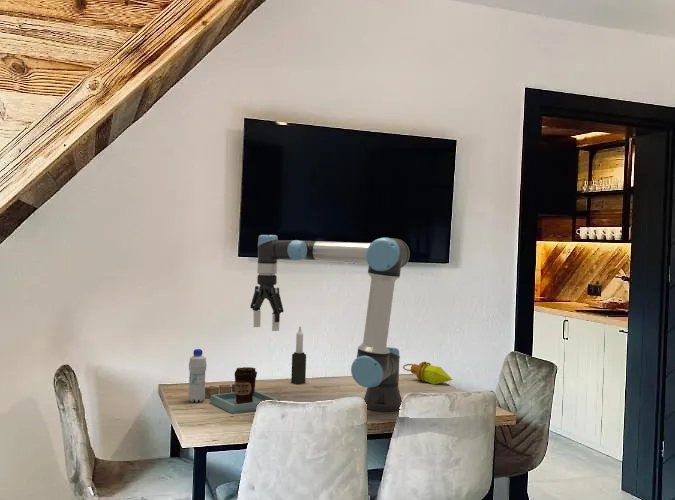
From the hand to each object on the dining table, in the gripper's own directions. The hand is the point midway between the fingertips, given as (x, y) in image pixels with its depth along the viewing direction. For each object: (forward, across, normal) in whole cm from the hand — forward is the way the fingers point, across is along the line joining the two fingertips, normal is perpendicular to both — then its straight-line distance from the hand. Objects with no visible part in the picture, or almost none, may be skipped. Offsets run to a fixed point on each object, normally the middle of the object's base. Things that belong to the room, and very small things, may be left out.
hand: (266, 328), depth 263 cm
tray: (+28, -4, +11) cm, 30 cm away
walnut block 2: (+28, +14, +10) cm, 33 cm away
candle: (+28, +20, -30) cm, 45 cm away
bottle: (+28, +11, +24) cm, 38 cm away
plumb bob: (+29, -8, -82) cm, 88 cm away
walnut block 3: (+28, +14, +4) cm, 31 cm away
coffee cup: (+27, -4, +11) cm, 29 cm away
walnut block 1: (+28, +15, +16) cm, 35 cm away
